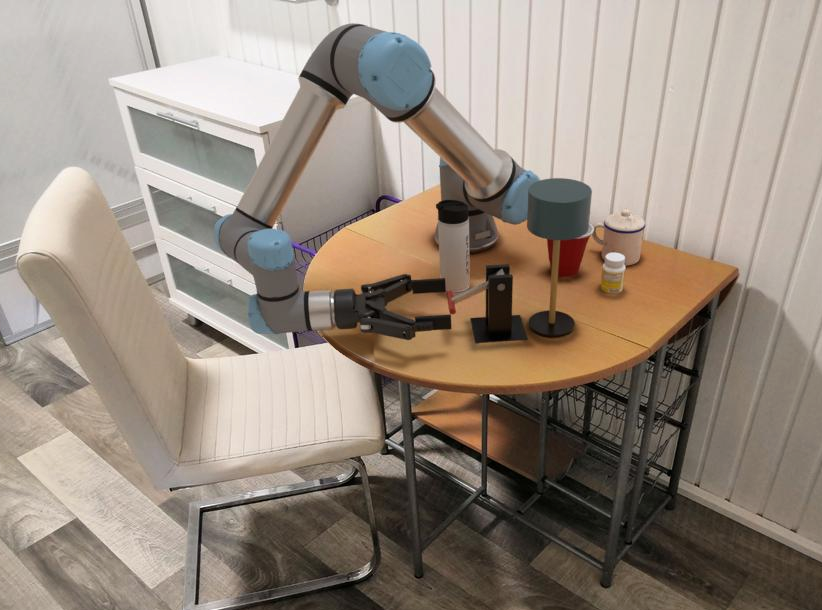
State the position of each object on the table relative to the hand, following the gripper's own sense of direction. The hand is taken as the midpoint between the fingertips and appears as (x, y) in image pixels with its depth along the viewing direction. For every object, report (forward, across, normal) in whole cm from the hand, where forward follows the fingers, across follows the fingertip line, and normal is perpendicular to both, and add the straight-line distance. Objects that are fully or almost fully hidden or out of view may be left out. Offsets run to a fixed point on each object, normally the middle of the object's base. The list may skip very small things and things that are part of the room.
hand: (448, 302), depth 139 cm
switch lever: (+6, 0, +1) cm, 6 cm away
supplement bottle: (+36, -13, -8) cm, 39 cm away
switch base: (+10, 0, -8) cm, 12 cm away
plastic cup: (+28, -22, -8) cm, 36 cm away
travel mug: (+2, -18, -8) cm, 20 cm away
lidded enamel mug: (+40, -29, -8) cm, 50 cm away
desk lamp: (+20, 0, -8) cm, 22 cm away
